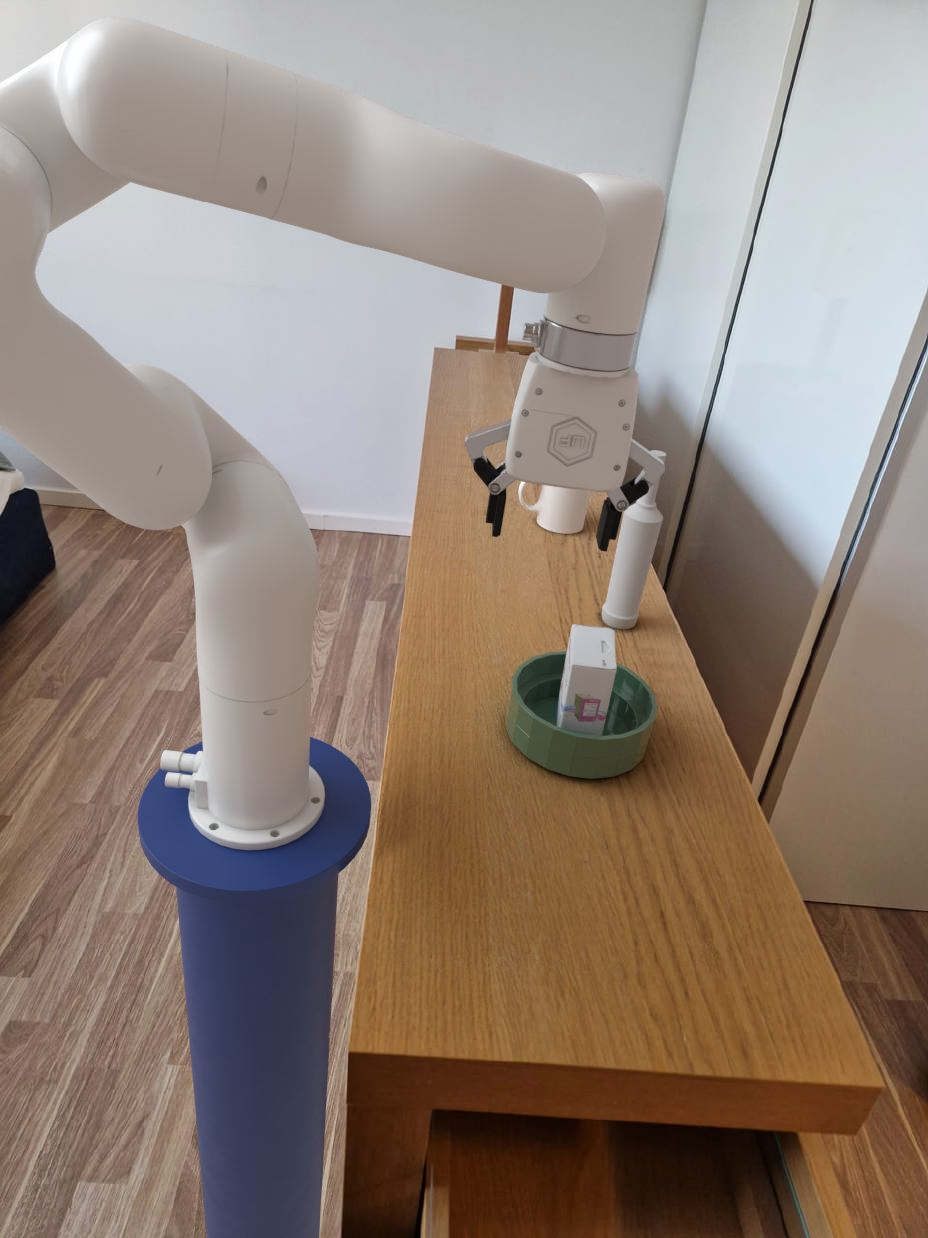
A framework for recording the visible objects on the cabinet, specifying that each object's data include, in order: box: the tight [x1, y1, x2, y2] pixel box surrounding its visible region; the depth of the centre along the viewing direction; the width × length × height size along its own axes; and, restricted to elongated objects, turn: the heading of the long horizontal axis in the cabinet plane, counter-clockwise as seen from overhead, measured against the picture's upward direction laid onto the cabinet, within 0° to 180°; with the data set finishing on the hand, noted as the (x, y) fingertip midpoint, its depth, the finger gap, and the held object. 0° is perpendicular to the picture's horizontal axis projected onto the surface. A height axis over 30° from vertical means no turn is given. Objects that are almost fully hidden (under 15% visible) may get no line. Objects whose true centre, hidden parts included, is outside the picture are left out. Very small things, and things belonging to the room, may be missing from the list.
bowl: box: [505, 650, 659, 780], centre depth 98 cm, size 16×16×6 cm
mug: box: [517, 481, 591, 535], centre depth 146 cm, size 12×8×10 cm
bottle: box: [601, 449, 667, 630], centre depth 117 cm, size 5×5×25 cm
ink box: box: [556, 623, 617, 736], centre depth 97 cm, size 9×5×12 cm, turn 174°
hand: (548, 537), depth 79 cm, fingers open, 9 cm apart
